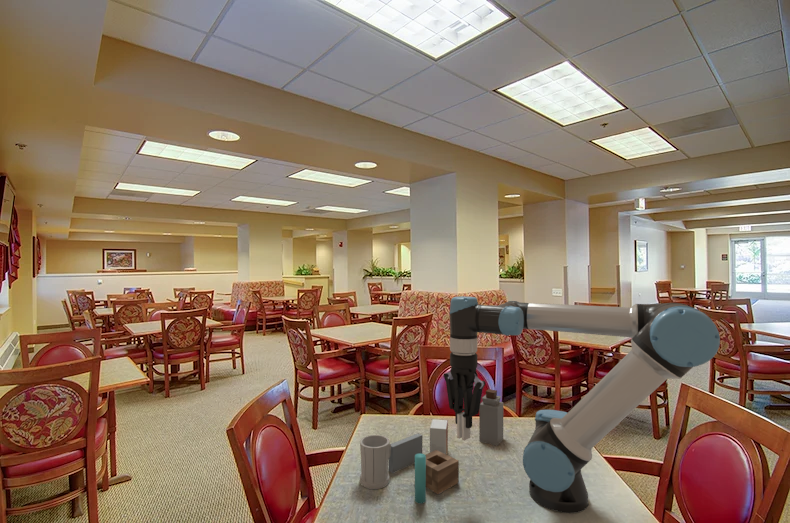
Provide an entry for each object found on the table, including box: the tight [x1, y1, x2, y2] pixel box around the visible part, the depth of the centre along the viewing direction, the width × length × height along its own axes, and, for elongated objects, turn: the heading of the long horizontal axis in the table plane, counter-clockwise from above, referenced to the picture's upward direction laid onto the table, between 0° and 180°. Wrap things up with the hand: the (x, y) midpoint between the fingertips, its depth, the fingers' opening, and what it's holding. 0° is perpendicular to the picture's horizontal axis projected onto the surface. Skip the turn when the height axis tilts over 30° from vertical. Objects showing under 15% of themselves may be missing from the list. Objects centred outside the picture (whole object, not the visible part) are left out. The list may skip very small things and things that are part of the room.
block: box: [425, 450, 460, 495], centre depth 116 cm, size 9×9×6 cm
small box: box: [429, 419, 449, 455], centre depth 133 cm, size 8×6×10 cm
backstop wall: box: [388, 433, 423, 474], centre depth 126 cm, size 2×13×8 cm, turn 131°
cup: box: [359, 434, 391, 490], centre depth 117 cm, size 10×9×12 cm
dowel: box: [414, 453, 427, 505], centre depth 107 cm, size 3×3×12 cm
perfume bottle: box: [478, 388, 504, 447], centre depth 144 cm, size 7×7×18 cm
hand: (463, 437), depth 109 cm, fingers closed
